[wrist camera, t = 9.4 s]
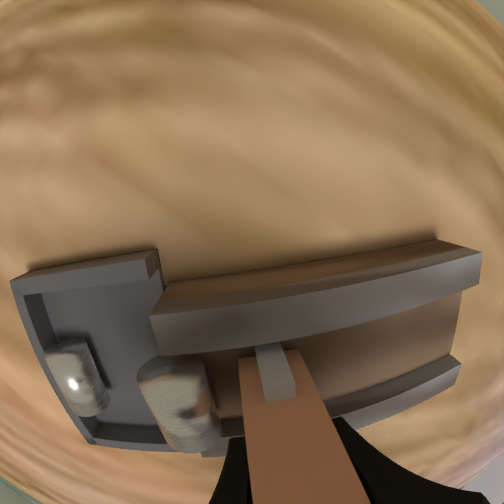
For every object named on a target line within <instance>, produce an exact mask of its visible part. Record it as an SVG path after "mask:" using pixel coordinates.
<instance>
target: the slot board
mask: <svg viewBox="0 0 504 504" xmlns="http://www.w3.org/2000/svg"><path fill="white" fill-rule="evenodd" d="M481 258H482V252H480V251H476V250H473V249H470V248H466V247H463V246H459V245H456V244H452V243H448V242H445V241H441V240H432V241H426V242H421V243H416V244H410V245H405V246H399V247H394V248H388V249H382V250H377V251H371V252H365V253H359V254H354V255H348V256H342V257H336V258H330V259H324V260H318V261H311V262H305V263H299V264H293V265H286V266H280V267H273V268H267V269H260V270H254V271H247V272H240V273H234V274H227V275H220V276H213V277H206V278H199V279H192V280H184V281H177V282H170V283H169V284H168V286H167V287H166V289H165V290H164V292H163V294H162V295H161V297H160V298H159V300H158V302H157V303H156V305H155V307H154V308H153V310H152V311H151V313H150V315H149V318H150V321H151V325H152V328H153V332H154V335H155V338H156V341H157V345H158V348H159V351H160V354H161V356H170V355H182V354H194V355H196V356H198V357H199V358H200V359H201V360H202V361H203V364H204V367H205V371H206V375H207V378H208V382H209V385H210V389H211V392H212V396H213V399H214V402H215V406H216V409H217V412H218V415H219V419H220V422H221V425H222V436H221V438H220V439H219V441H218V442H217V443H216V444H215V445H214V446H213V447H211V448H209V449H207V450H205V451H203V452H201V454H202V457H220V456H226V454H227V449H228V442H229V439H230V438H232V437H241V436H245V429H244V420H243V410H242V399H241V389H240V378H239V367H238V358H245V357H252V356H256V353H255V345H262V344H268V343H273V342H279V341H280V343H281V346H282V348H283V351H287V350H292V349H297V348H298V350H299V352H300V354H301V356H302V358H303V360H304V362H305V365H306V367H307V369H308V371H309V373H310V375H311V377H312V379H313V382H314V384H315V386H316V388H317V390H318V392H319V394H320V396H321V399H322V401H323V403H324V405H325V407H326V409H327V411H328V413H329V416H330V418H331V419H332V418H336V417H339V416H341V417H343V418H344V419H345V420H346V422H347V423H348V424H349V425H350V426H351V427H352V428H353V429H354V430H355V429H358V428H361V427H364V426H367V425H370V424H372V423H375V422H378V421H380V420H383V419H385V418H388V417H390V416H393V415H395V414H397V413H400V412H402V411H404V410H406V409H409V408H411V407H413V406H415V405H417V404H419V403H421V402H423V401H425V400H427V399H429V398H431V397H433V396H435V395H437V394H439V393H440V392H442V391H444V390H446V389H448V388H449V387H451V386H453V385H454V384H455V382H456V379H457V376H458V373H459V370H460V367H461V363H460V362H459V361H458V360H456V359H455V358H454V357H453V356H451V355H450V351H451V347H452V343H453V338H454V334H455V329H456V324H457V319H458V314H459V308H460V301H461V294H462V291H463V290H465V289H468V288H470V287H473V286H475V285H478V284H479V278H480V269H481Z"/></svg>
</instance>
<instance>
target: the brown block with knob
mask: <svg viewBox="0 0 504 504" xmlns="http://www.w3.org/2000/svg"><path fill="white" fill-rule="evenodd" d="M255 353H256V356H252V357H245V358H238V367H239V378H240V389H241V399H242V410H243V420H244V429H245V439H246V448H247V457H248V466H249V474H250V482H251V491H252V498H253V504H371V503H370V501H369V499H368V496H367V494H366V492H365V490H364V488H363V486H362V484H361V482H360V479H359V477H358V475H357V473H356V471H355V469H354V467H353V464H352V462H351V460H350V458H349V456H348V454H347V452H346V450H345V447H344V445H343V443H342V441H341V439H340V437H339V435H338V433H337V430H336V428H335V426H334V424H333V422H332V420H331V418H330V416H329V413H328V411H327V409H326V407H325V405H324V403H323V401H322V399H321V396H320V394H319V392H318V390H317V388H316V386H315V384H314V382H313V379H312V377H311V375H310V373H309V371H308V369H307V367H306V365H305V362H304V360H303V358H302V356H301V354H300V352H299V350H298V348H297V349H292V350H287V351H283V348H282V346H281V343H280V341H279V342H273V343H268V344H262V345H255Z"/></svg>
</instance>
